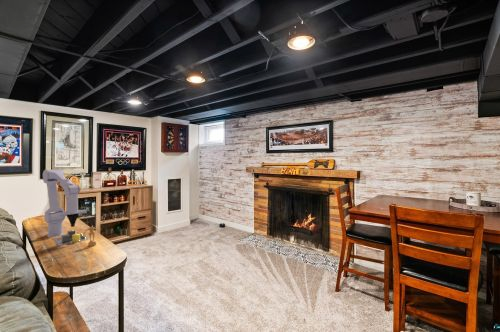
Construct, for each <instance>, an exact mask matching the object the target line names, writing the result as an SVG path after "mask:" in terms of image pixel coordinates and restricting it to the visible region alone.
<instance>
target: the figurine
mask: <svg viewBox="0 0 500 332" xmlns="http://www.w3.org/2000/svg"><path fill="white" fill-rule="evenodd" d="M94 230H97V231H98V233H99V234H101V232H100V230H99V228H98V227H94V226H90V227H88V228H87V229H85V230H84V233H83V236H85V234H86V232H87V231H89V233H88V236H89V241H88V242H87V243H88V245H87V246H88V247H95V246H96V245H97V241H96V240H95V232H94ZM91 236H92V237H91Z"/></svg>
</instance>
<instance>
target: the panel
mask: <svg viewBox="0 0 500 332" xmlns="http://www.w3.org/2000/svg"><path fill="white" fill-rule="evenodd" d="M75 234H80V241H78V242H72V237H70V241H66V242H62V236H61V237H55V238H54V237H53V238H52V240H53V242H54V243H55V244H57V246H58V247H60V246H61V247H62V246H65V245H66V246H67V245H70V244H74V243H75V244H76V243H79V242H80V243H81V242H83V241H90V238H88V237H87V235H84V236H83V234H84V233H83V232H80V233H79V231H75Z"/></svg>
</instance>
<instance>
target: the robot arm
mask: <svg viewBox="0 0 500 332" xmlns="http://www.w3.org/2000/svg"><path fill="white" fill-rule="evenodd" d="M42 180H43V183H44V184H46V188H47V197H48V204H49V205H48V206H49V208H48V209H47V210H46V211H44V221H45V223H47V233H46V234H45V235H46V236H47V237H48V238H54V237H55V238H56V237H59V236H61V235H65V234H64V233H63V222H64V221H65V220H66V217H67V219H68V221H69V224H70V227H71V228H74V227H75V225H76V222H77V219H78V218H79V215H80V214H81V215H83V214H87V211H88V210H87V209H81V210H80V209H79V194H80V192H81V189H80V186H79V185H78V184H74V183H73V181H71V179H69V178H66V177H65V171H64V170H63V169H60V168H59V169H44V170H43V172H42ZM58 183H59V185H60V187H61V188H62V189H63V191H64V197H65V198H66V199H65V201H66V211H65V209H64V208H62V207H61V206H60V204H59V203H60V202H59V196H58V187H57V184H58Z"/></svg>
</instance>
